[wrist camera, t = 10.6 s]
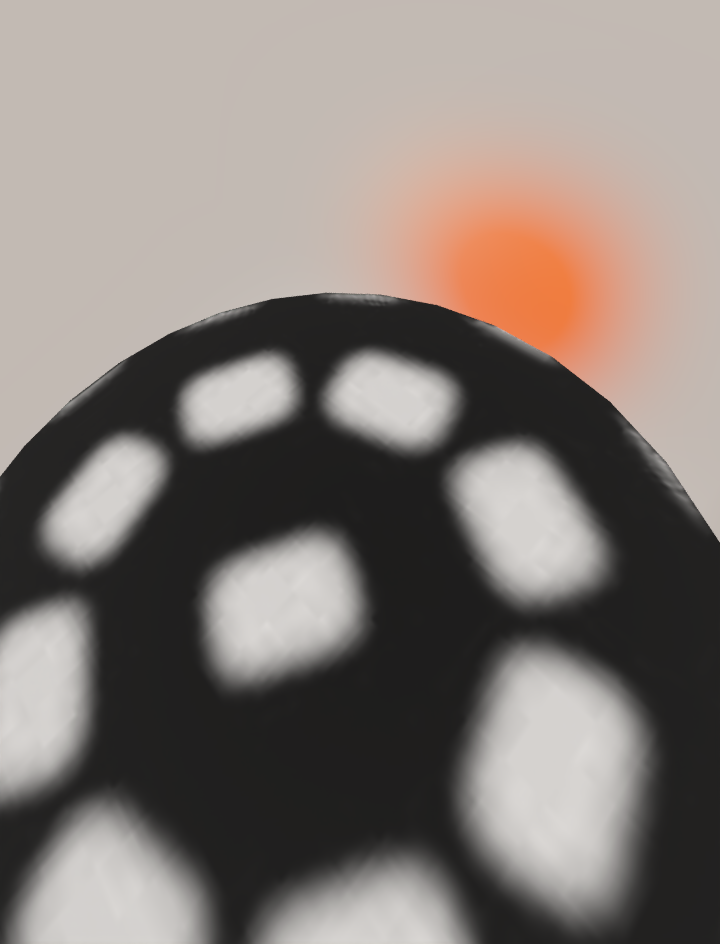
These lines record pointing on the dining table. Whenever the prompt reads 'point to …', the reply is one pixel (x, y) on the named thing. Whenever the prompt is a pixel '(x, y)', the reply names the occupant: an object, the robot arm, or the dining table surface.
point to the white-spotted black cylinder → (354, 648)
